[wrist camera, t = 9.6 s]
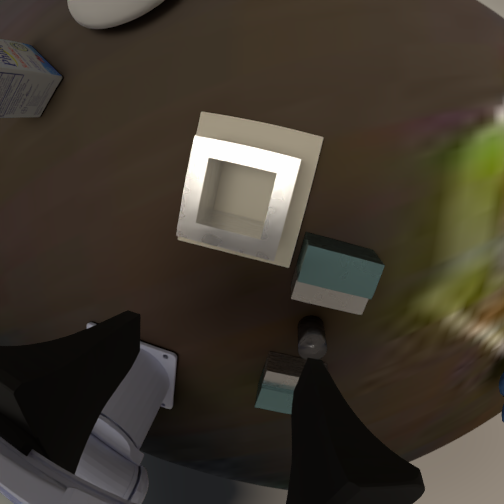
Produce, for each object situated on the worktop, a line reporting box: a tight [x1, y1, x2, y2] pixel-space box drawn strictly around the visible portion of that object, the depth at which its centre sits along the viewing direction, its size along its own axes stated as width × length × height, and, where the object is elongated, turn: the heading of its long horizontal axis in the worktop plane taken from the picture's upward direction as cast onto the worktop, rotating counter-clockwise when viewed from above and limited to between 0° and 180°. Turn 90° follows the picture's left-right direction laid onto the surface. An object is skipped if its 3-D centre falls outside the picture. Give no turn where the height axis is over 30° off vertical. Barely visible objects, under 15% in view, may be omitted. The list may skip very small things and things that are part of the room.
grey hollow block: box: [176, 136, 301, 261], centre depth 17 cm, size 6×6×4 cm
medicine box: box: [0, 39, 62, 118], centre depth 14 cm, size 8×4×9 cm, turn 46°
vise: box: [255, 232, 385, 414], centre depth 21 cm, size 5×14×3 cm, turn 167°
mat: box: [178, 112, 323, 268], centre depth 20 cm, size 8×9×1 cm
